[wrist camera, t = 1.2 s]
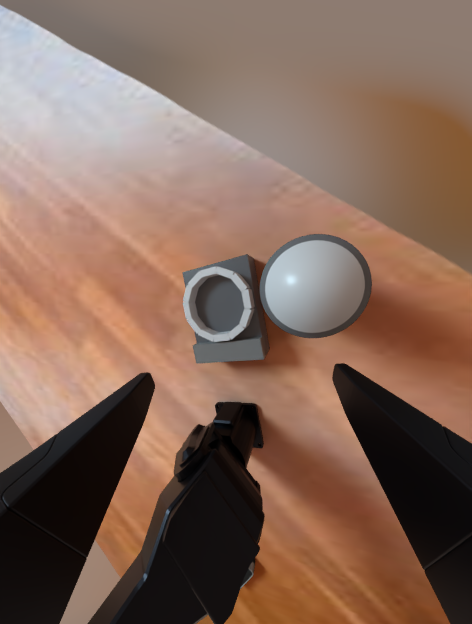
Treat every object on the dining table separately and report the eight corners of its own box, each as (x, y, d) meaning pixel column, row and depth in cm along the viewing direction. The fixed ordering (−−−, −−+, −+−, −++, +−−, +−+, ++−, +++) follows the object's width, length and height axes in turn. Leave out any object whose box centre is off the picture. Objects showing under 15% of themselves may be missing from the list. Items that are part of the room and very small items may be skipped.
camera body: (269, 348, 24) (263, 361, 20) (210, 352, 27) (194, 364, 23) (253, 258, 23) (243, 251, 19) (195, 274, 26) (174, 271, 22)
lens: (335, 308, 21) (385, 336, 8) (284, 315, 23) (265, 346, 11) (327, 257, 20) (368, 212, 8) (276, 269, 22) (248, 248, 10)
